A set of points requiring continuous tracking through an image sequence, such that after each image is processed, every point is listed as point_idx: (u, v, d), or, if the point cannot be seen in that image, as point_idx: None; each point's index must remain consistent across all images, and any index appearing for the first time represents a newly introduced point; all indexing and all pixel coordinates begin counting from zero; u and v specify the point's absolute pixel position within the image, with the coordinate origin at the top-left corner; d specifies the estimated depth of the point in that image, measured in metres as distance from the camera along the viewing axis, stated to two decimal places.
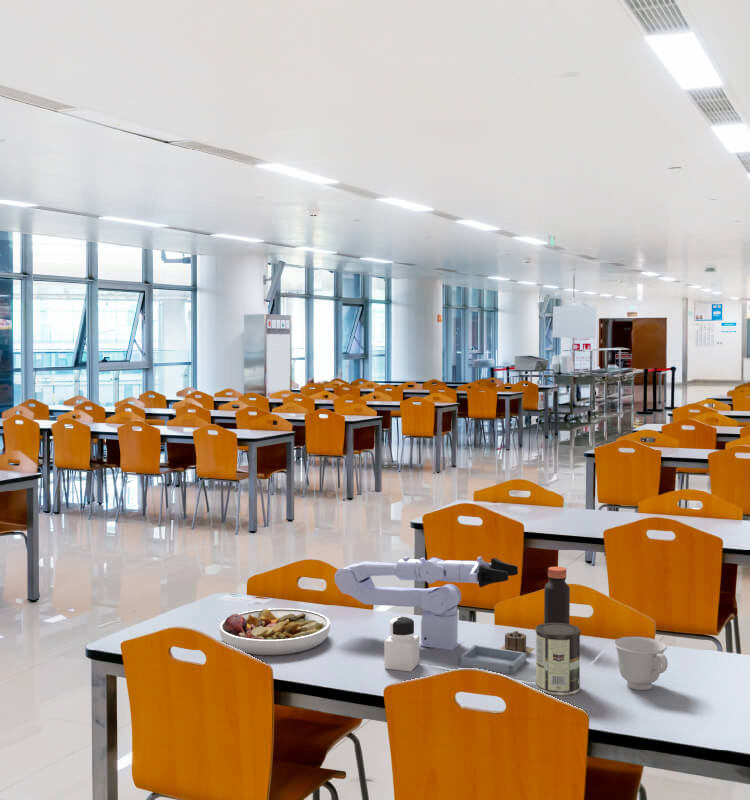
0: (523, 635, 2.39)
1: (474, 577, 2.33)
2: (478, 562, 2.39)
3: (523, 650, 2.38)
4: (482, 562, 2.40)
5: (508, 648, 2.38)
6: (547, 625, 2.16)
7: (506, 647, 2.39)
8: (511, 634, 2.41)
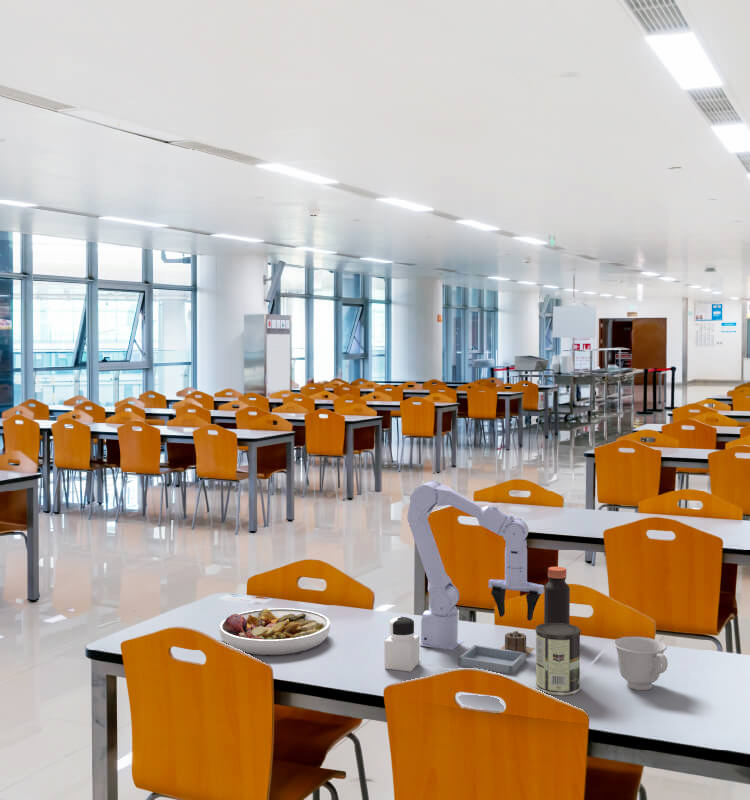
0: (523, 635, 2.39)
1: (542, 591, 2.35)
2: None
3: (523, 650, 2.38)
4: None
5: (508, 648, 2.38)
6: (547, 625, 2.16)
7: (506, 647, 2.39)
8: (511, 634, 2.41)
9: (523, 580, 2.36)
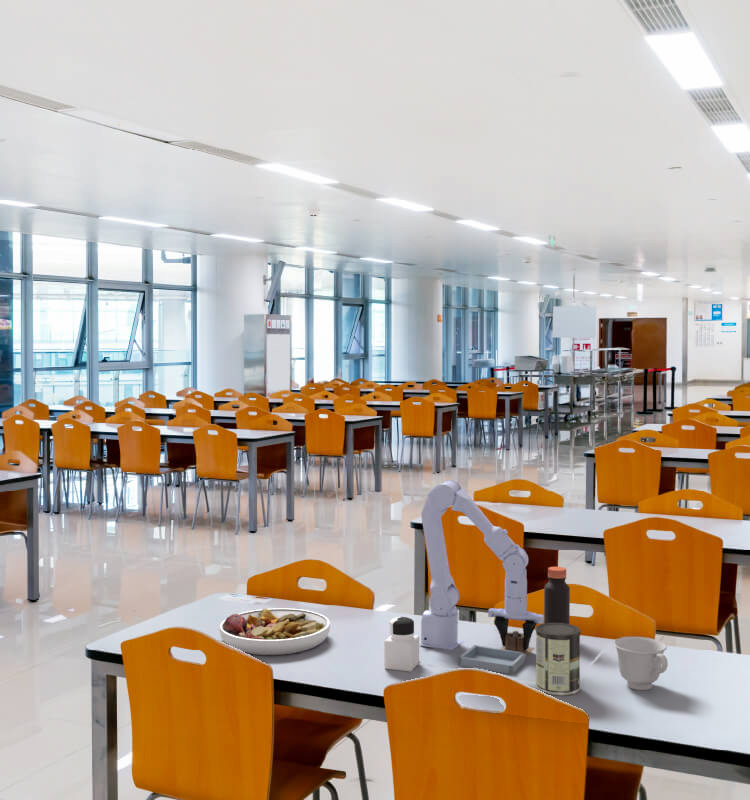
0: (523, 635, 2.39)
1: (542, 621, 2.36)
2: None
3: (523, 650, 2.38)
4: None
5: (508, 648, 2.38)
6: (547, 625, 2.16)
7: (506, 647, 2.39)
8: (511, 634, 2.41)
9: (523, 610, 2.37)
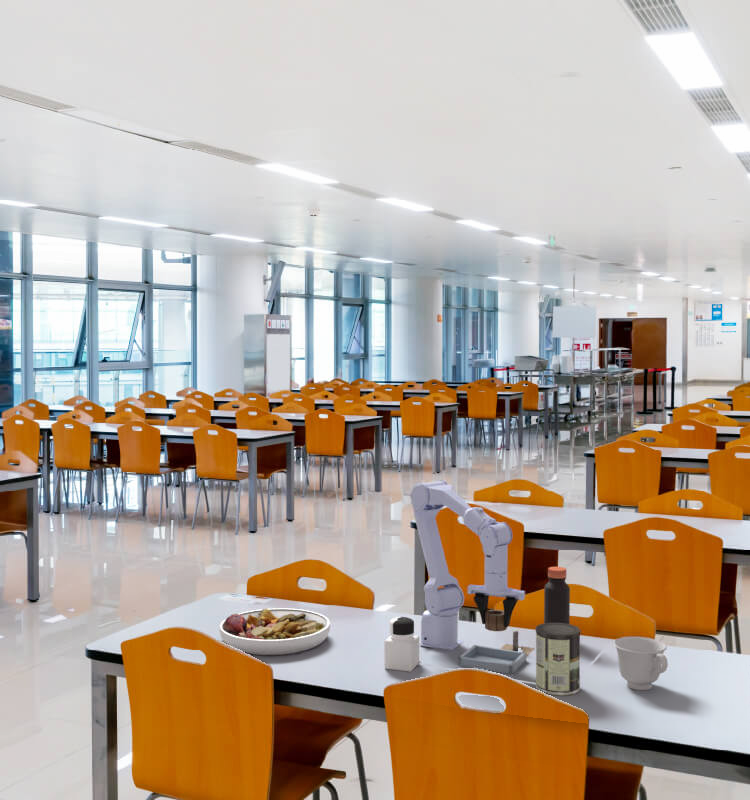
0: None
1: (523, 597, 2.27)
2: None
3: (504, 628, 2.29)
4: None
5: (488, 626, 2.29)
6: (547, 625, 2.16)
7: (486, 625, 2.30)
8: (491, 611, 2.32)
9: (503, 586, 2.28)
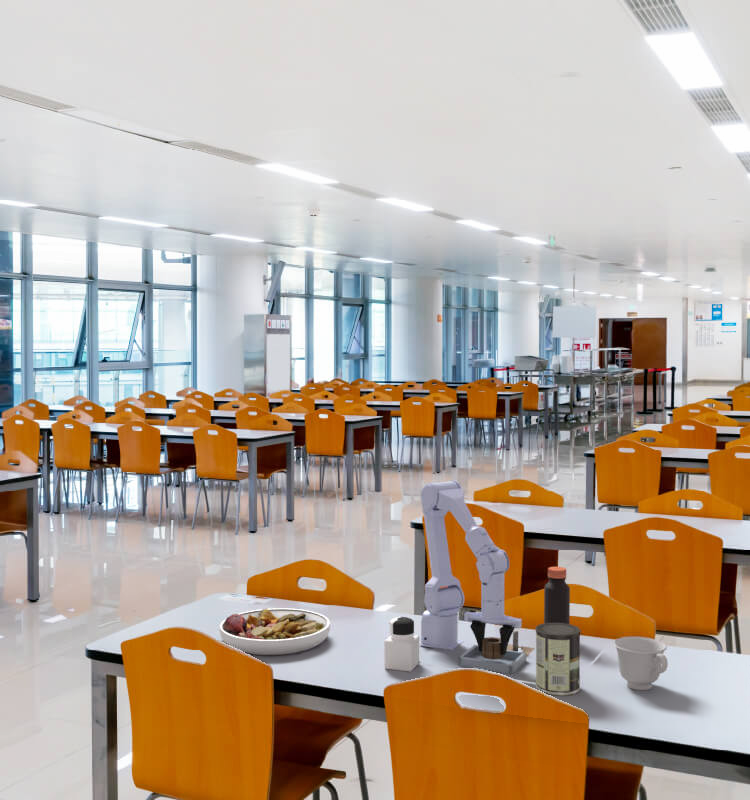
0: None
1: (520, 625, 2.26)
2: None
3: (500, 656, 2.28)
4: None
5: (485, 654, 2.28)
6: (547, 625, 2.16)
7: (483, 652, 2.29)
8: (488, 639, 2.31)
9: (500, 614, 2.27)
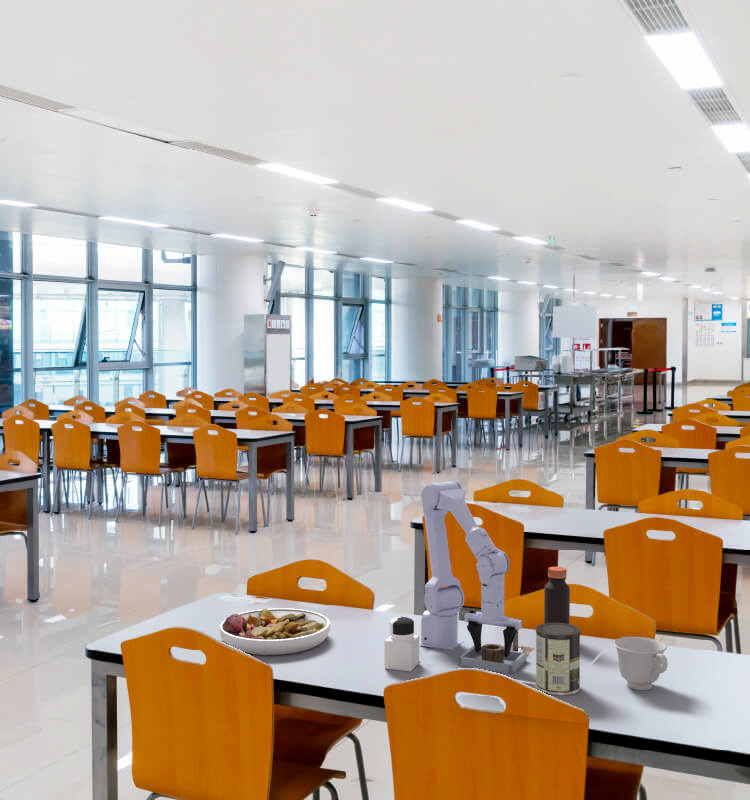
0: (501, 647, 2.30)
1: (520, 627, 2.26)
2: None
3: None
4: None
5: (485, 660, 2.28)
6: (547, 625, 2.16)
7: (483, 659, 2.29)
8: (488, 646, 2.31)
9: (500, 615, 2.27)
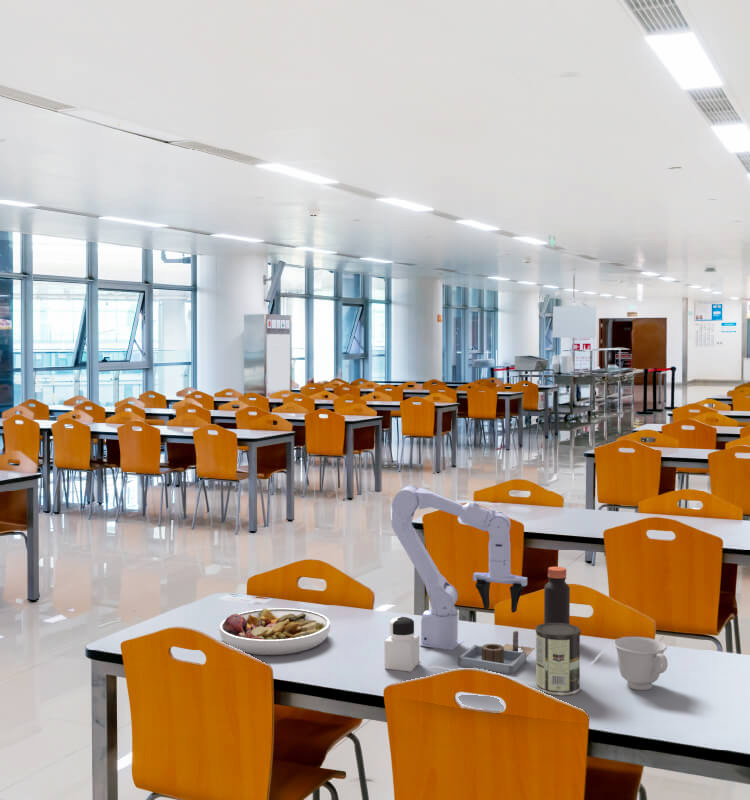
0: (501, 647, 2.30)
1: (526, 583, 2.38)
2: None
3: None
4: None
5: (485, 660, 2.28)
6: (547, 625, 2.16)
7: (483, 659, 2.29)
8: (488, 646, 2.31)
9: (507, 573, 2.39)
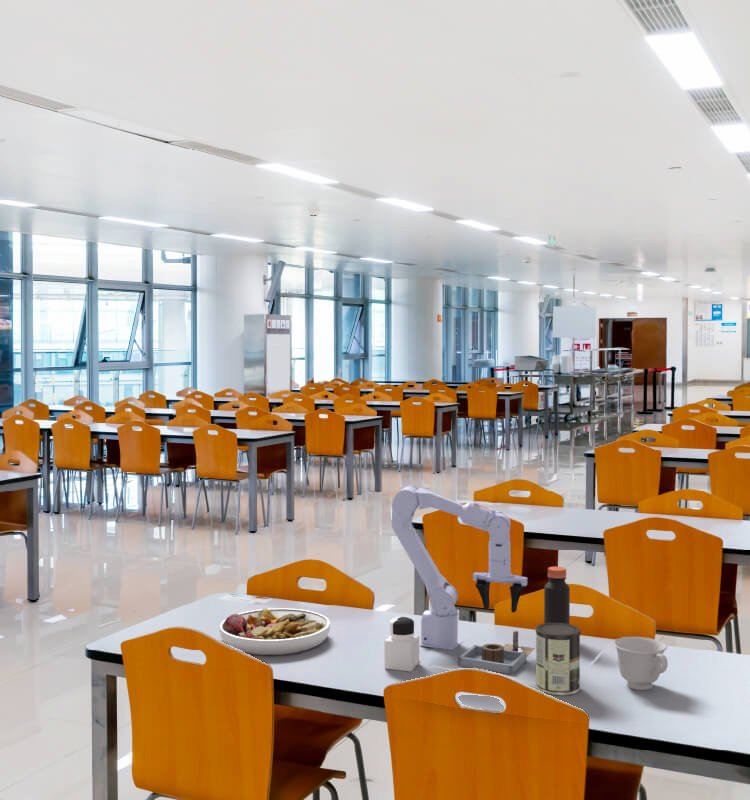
0: (501, 647, 2.30)
1: (526, 583, 2.39)
2: None
3: None
4: None
5: (485, 660, 2.28)
6: (547, 625, 2.16)
7: (483, 659, 2.29)
8: (488, 646, 2.31)
9: (507, 573, 2.39)
